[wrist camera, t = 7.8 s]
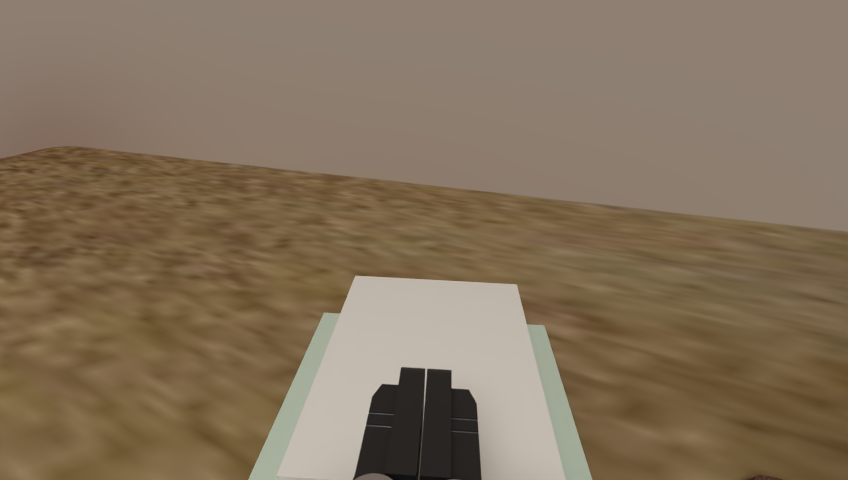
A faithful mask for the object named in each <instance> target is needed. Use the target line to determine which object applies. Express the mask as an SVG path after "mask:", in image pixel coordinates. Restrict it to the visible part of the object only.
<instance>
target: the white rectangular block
mask: <svg viewBox="0 0 848 480" xmlns="http://www.w3.org/2000/svg"><path fill="white" fill-rule="evenodd" d="M401 367H411V368H425V392H424V407H425V394H426V380H427V369H443V370H451V371H452V388H454V389H469V391H470V393H471V394H472V396H473V398H474V399H475V401H476V403H477V415H478V431H479V432H478V435H479V447H480V462H481V478H482V480H566V478H565V475H564V471H563V467H562V463H561V459H560V455H559V451H558V447H557V443H556V439H555V435H554V431H553V427H552V423H551V419H550V415H549V411H548V407H547V403H546V399H545V395H544V391H543V387H542V383H541V379H540V375H539V371H538V367H537V364H536V360H535V356H534V352H533V348H532V344H531V340H530V336H529V332H528V328H527V324H526V320H525V316H524V312H523V308H522V304H521V300H520V296H519V292H518V288H517V285H515V284H497V283H479V282H461V281H442V280H424V279H406V278H387V277H369V276H355V278H354V281H353V283H352V286H351V288H350V291H349V293H348V296H347V298H346V301H345V303H344V306H343V308H342V311H341V313H340V316H339V319H338V321H337V324H336V326H335V329H334V331H333V334H332V336H331V339H330V341H329V344H328V346H327V349H326V351H325V354H324V357H323V359H322V362H321V364H320V367H319V369H318V372H317V374H316V377H315V379H314V382H313V384H312V387H311V389H310V392H309V395H308V397H307V400H306V402H305V405H304V407H303V410H302V412H301V415H300V417H299V420H298V422H297V425H296V427H295V430H294V433H293V435H292V438H291V440H290V443H289V445H288V448H287V450H286V453H285V455H284V458H283V460H282V463H281V465H280V468H279V471H278V473H277V476H276V477H277V480H353V478H354V475H355V471H356V467H357V462H358V458H359V453H360V449H361V444H362V440H363V435H364V431H365V427H366V422H367V417H368V414H369V408H370V404H371V399H372V396H373V395H374V393H375V392H376V391H377V390H378V388H379V387H380V386H381V385H382V384H392V385H398V384H399V377H400V371H401ZM423 420H424V414H423ZM422 433H423V430H422ZM421 446H422V443H421ZM420 459H421V456H420ZM419 472H420V469H419Z"/></svg>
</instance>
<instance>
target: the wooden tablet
mask: <svg viewBox="0 0 848 480" xmlns="http://www.w3.org/2000/svg"><path fill="white" fill-rule="evenodd" d="M748 480H782V479H779V478H774V477H768V476H761V475H758V476H756V477H754V478H751V479H748Z"/></svg>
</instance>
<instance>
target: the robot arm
mask: <svg viewBox="0 0 848 480" xmlns="http://www.w3.org/2000/svg"><path fill="white" fill-rule="evenodd" d="M424 392H425V368H411V367H401V371H400V377H399V384H398V385H392V384H382V385H381V386H380V387H379V388H378V390H377V391H376V392H375V393H374V395H373V396H372V399H371V404H370V408H369V414H368V417H367V422H366V427H365V431H364V435H363V440H362V444H361V449H360V453H359V458H358V462H357V467H356V471H355V475H354V478H353V480H482V478H481V462H480V447H479V435H478V432H479V431H478V415H477V403H476V401H475V399H474V398H473V396H472V394H471V393H470V391H469V389H454V388H452V371H451V370H443V369H427V380H426V394H425V407H424ZM423 414H424V420H423ZM422 430H423V433H422ZM421 443H422V446H421ZM420 456H421V459H420ZM419 469H420V472H419Z"/></svg>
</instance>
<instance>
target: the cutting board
mask: <svg viewBox="0 0 848 480" xmlns="http://www.w3.org/2000/svg"><path fill="white" fill-rule="evenodd" d="M339 316H340V314H336V313H324V314H323V316H322V319H321V321H320V323H319V325H318V327H317V330H316V332H315V334H314V336H313V338H312V341H311V343H310V345H309V347H308V349H307V352H306V354H305V356H304V358H303V360H302V363H301V365H300V367H299V369H298V371H297V374H296V376H295V378H294V380H293V383H292V385H291V387H290V389H289V391H288V394H287V396H286V398H285V400H284V402H283V405H282V407H281V409H280V411H279V413H278V416H277V418H276V420H275V422H274V424H273V427H272V429H271V431H270V433H269V435H268V438H267V440H266V442H265V444H264V446H263V449H262V451H261V453H260V455H259V457H258V460H257V462H256V464H255V466H254V468H253V471H252V473H251V475H250V477H249V479H248V480H277V477H276V476H277V473H278V471H279V468H280V465H281V463H282V460H283V458H284V455H285V453H286V450H287V448H288V445H289V443H290V440H291V438H292V435H293V433H294V430H295V427H296V425H297V422H298V420H299V417H300V415H301V412H302V410H303V407H304V405H305V402H306V400H307V397H308V395H309V392H310V389H311V387H312V384H313V382H314V379H315V377H316V374H317V372H318V369H319V367H320V364H321V362H322V359H323V357H324V354H325V351H326V349H327V346H328V344H329V341H330V339H331V336H332V334H333V331H334V329H335V326H336V324H337V321H338V319H339ZM527 328H528V332H529V336H530V340H531V344H532V348H533V352H534V356H535V360H536V364H537V367H538V371H539V375H540V379H541V383H542V387H543V391H544V395H545V399H546V403H547V407H548V411H549V415H550V419H551V423H552V427H553V431H554V435H555V439H556V443H557V447H558V451H559V455H560V459H561V463H562V467H563V471H564V475H565V478H566V480H592V478H591V474H590V471H589V468H588V465H587V461H586V458H585V455H584V452H583V449H582V445H581V442H580V439H579V436H578V432H577V429H576V426H575V423H574V420H573V416H572V413H571V410H570V407H569V404H568V400H567V397H566V394H565V391H564V387H563V384H562V381H561V378H560V375H559V371H558V368H557V365H556V362H555V359H554V355H553V352H552V349H551V346H550V342H549V339H548V336H547V333H546V330H545V326H543V325H527Z"/></svg>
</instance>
